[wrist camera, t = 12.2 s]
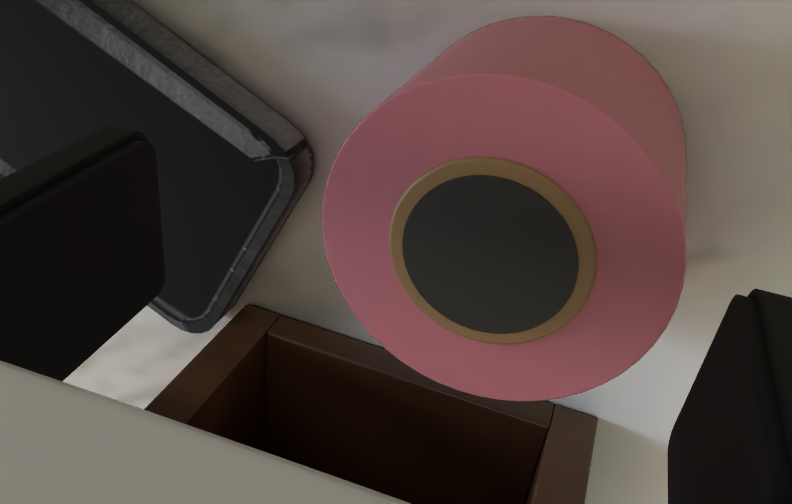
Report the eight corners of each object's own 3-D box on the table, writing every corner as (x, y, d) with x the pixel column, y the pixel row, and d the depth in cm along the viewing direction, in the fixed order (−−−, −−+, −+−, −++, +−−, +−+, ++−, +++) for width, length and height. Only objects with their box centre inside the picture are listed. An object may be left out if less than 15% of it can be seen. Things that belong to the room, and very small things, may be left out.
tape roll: (422, -12, 16) (330, 36, 12) (732, 50, 14) (751, 129, 10) (389, 241, 19) (309, 345, 15) (634, 313, 18) (619, 449, 13)
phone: (-184, -207, 17) (308, 167, 17) (-138, -204, 18) (328, 151, 18) (-190, 54, 22) (199, 349, 22) (-154, 46, 22) (219, 329, 23)
